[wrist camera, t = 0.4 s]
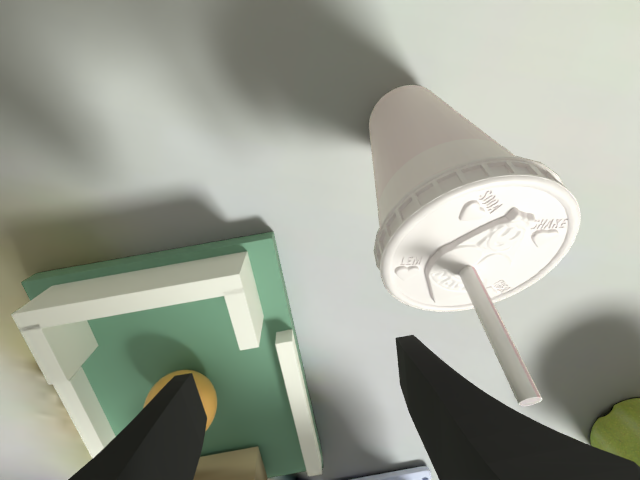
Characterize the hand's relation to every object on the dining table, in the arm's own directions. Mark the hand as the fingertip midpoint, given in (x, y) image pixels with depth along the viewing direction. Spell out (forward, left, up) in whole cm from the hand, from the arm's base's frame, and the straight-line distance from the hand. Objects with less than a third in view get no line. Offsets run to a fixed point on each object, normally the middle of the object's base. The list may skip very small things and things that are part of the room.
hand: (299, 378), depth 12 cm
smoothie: (+7, -7, -9) cm, 14 cm away
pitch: (-7, +8, -10) cm, 14 cm away
